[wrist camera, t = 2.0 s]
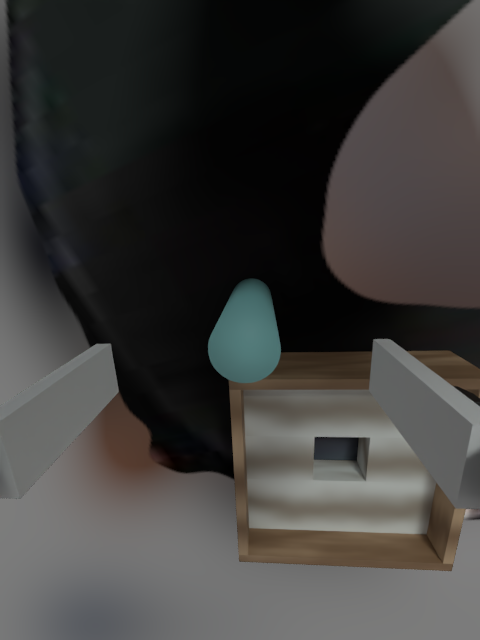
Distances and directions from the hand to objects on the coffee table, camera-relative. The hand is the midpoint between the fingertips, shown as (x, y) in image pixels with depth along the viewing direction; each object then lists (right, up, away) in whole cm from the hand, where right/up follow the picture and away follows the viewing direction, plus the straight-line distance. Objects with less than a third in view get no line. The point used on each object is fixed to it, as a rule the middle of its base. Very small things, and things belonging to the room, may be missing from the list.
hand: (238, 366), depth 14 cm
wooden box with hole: (+11, -12, +19) cm, 25 cm away
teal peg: (+1, +5, +15) cm, 15 cm away
